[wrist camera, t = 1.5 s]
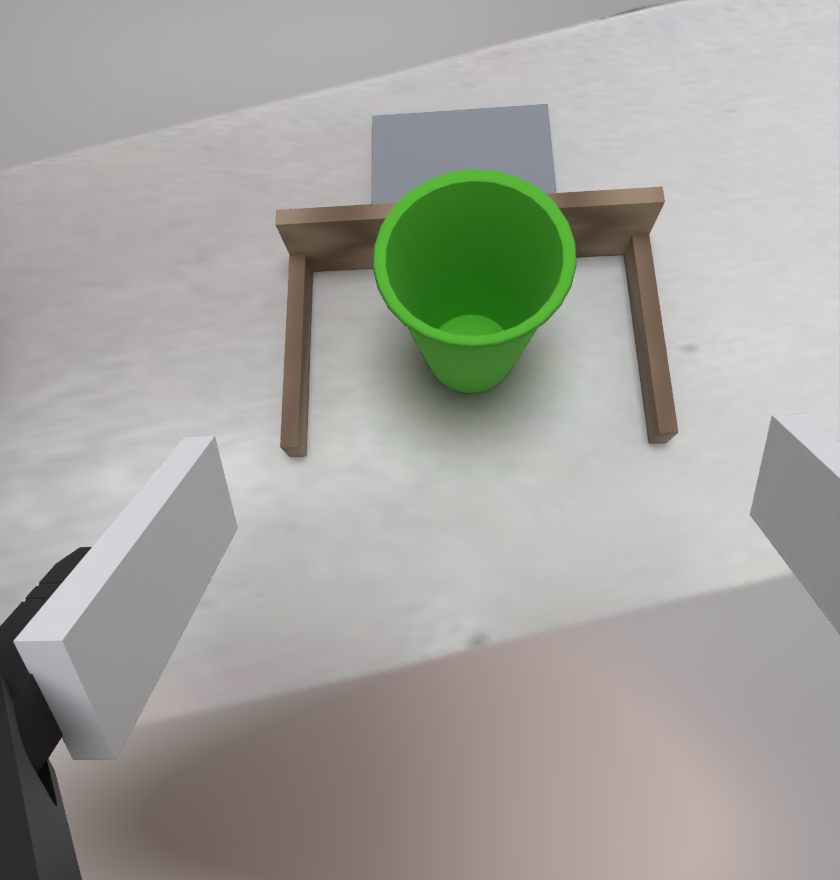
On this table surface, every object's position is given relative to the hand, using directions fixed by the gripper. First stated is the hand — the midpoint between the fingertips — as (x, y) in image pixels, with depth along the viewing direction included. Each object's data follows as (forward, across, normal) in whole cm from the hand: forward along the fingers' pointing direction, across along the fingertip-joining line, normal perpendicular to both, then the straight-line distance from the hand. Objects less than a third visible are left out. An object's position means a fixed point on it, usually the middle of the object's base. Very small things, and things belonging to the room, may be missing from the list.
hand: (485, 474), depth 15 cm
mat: (+32, 0, +4) cm, 32 cm away
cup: (+23, 0, -5) cm, 24 cm away
